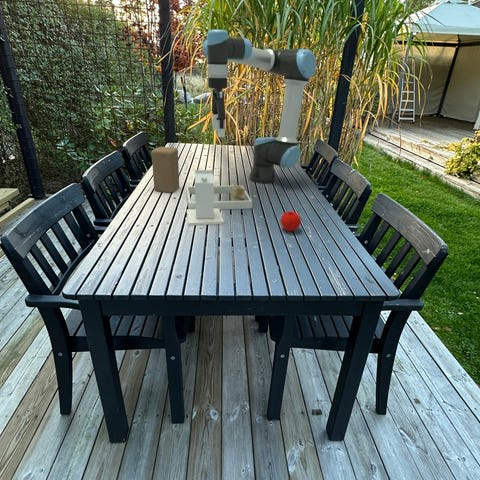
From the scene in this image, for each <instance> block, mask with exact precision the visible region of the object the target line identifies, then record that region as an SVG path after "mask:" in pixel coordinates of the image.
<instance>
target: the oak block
mask: <svg viewBox="0 0 480 480" xmlns="http://www.w3.org/2000/svg"><path fill="white" fill-rule="evenodd" d="M238 185H239V184H238ZM230 186H231V193H230V199H229V201H245V190H246V188H245V187H244V186H243V185H242V186H243V187H242V186H241V184H240V185H239V186H236V185H230Z"/></svg>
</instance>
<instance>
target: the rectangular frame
mask: <svg viewBox="0 0 480 480" xmlns="http://www.w3.org/2000/svg"><path fill="white" fill-rule="evenodd" d="M240 185H241V184H240ZM231 186H232V185H214V194H231ZM235 186H239V184H237V185H235ZM241 186H242V187H244V185H241ZM185 195H186V203H187V207H188V209H196V203H195V201H192V200H191V196H190V195H195V185H194V186H191V185H190V186H185ZM191 201H192V202H191ZM215 208H219V210H220V211H222V210H243V209H246V210H247V209H253V200H252V198H251V197H250V196H249V194H248V192H247V191H246V189H245V201H230V200H221V201H220V200H219V201H218V200H217V201H214V204H213V209H215Z"/></svg>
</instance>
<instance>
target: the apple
mask: <svg viewBox="0 0 480 480" xmlns="http://www.w3.org/2000/svg"><path fill="white" fill-rule="evenodd" d="M301 222H302V220H301V217H300V215H299V214H298V213H297V212H296V211H286V212H284V213H283V214H282V215H281V217H280V225H281V226H282V228H284V229H285V231H288V232H294V231H296V230H297V229H298V228H299V227H300V226H301Z"/></svg>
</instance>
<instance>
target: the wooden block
mask: <svg viewBox="0 0 480 480" xmlns="http://www.w3.org/2000/svg"><path fill="white" fill-rule="evenodd" d="M150 153H151V163H152V178H153V189H154V191H155V192H164V193H171V194H172V193H174V192H175V191H176V190H177V189H179V187H180V174H179V173H180V171H179V170H180V169H179V166H180V165H179V150H178V148H176V147H167V146H159V147H156V148H154V149H153V150H151V152H150Z"/></svg>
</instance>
